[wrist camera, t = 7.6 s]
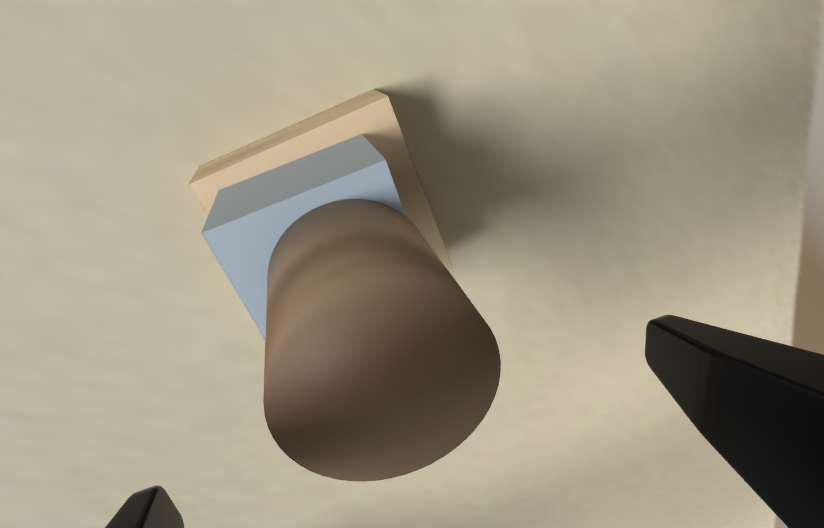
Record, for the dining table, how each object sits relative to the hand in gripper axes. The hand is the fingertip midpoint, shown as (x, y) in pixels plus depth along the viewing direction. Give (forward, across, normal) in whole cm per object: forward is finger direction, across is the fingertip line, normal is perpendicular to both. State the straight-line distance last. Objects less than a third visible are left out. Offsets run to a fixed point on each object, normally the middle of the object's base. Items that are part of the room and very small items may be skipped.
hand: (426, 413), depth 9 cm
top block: (+10, +1, 0) cm, 10 cm away
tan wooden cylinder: (+6, 0, 0) cm, 6 cm away
